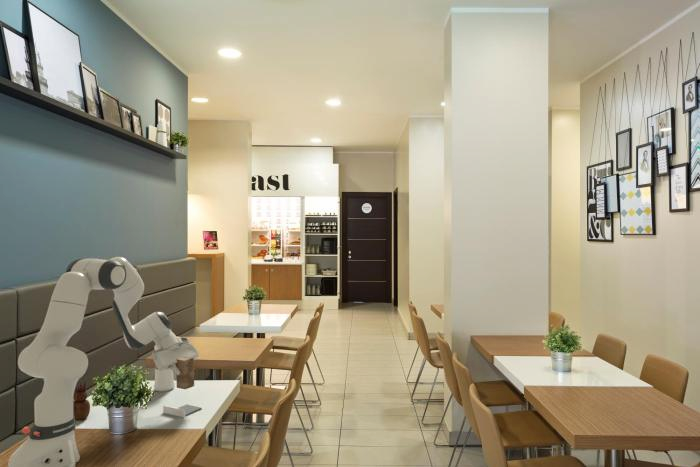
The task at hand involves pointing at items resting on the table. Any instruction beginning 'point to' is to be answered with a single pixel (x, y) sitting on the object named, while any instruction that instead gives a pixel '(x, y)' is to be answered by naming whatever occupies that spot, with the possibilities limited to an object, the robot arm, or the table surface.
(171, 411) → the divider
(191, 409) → the coaster
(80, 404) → the wooden figurine
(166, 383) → the vodka
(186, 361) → the walnut block
